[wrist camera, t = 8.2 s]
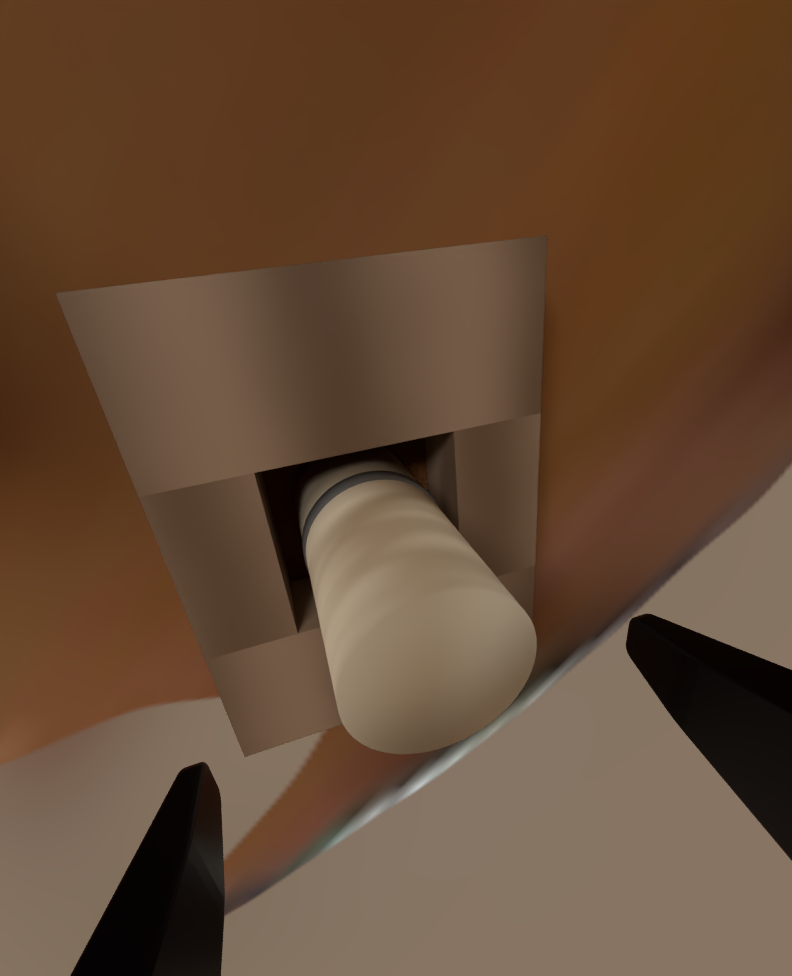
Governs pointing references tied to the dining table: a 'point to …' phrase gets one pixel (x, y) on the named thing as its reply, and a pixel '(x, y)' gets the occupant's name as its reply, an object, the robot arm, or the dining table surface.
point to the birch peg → (406, 608)
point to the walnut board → (316, 432)
